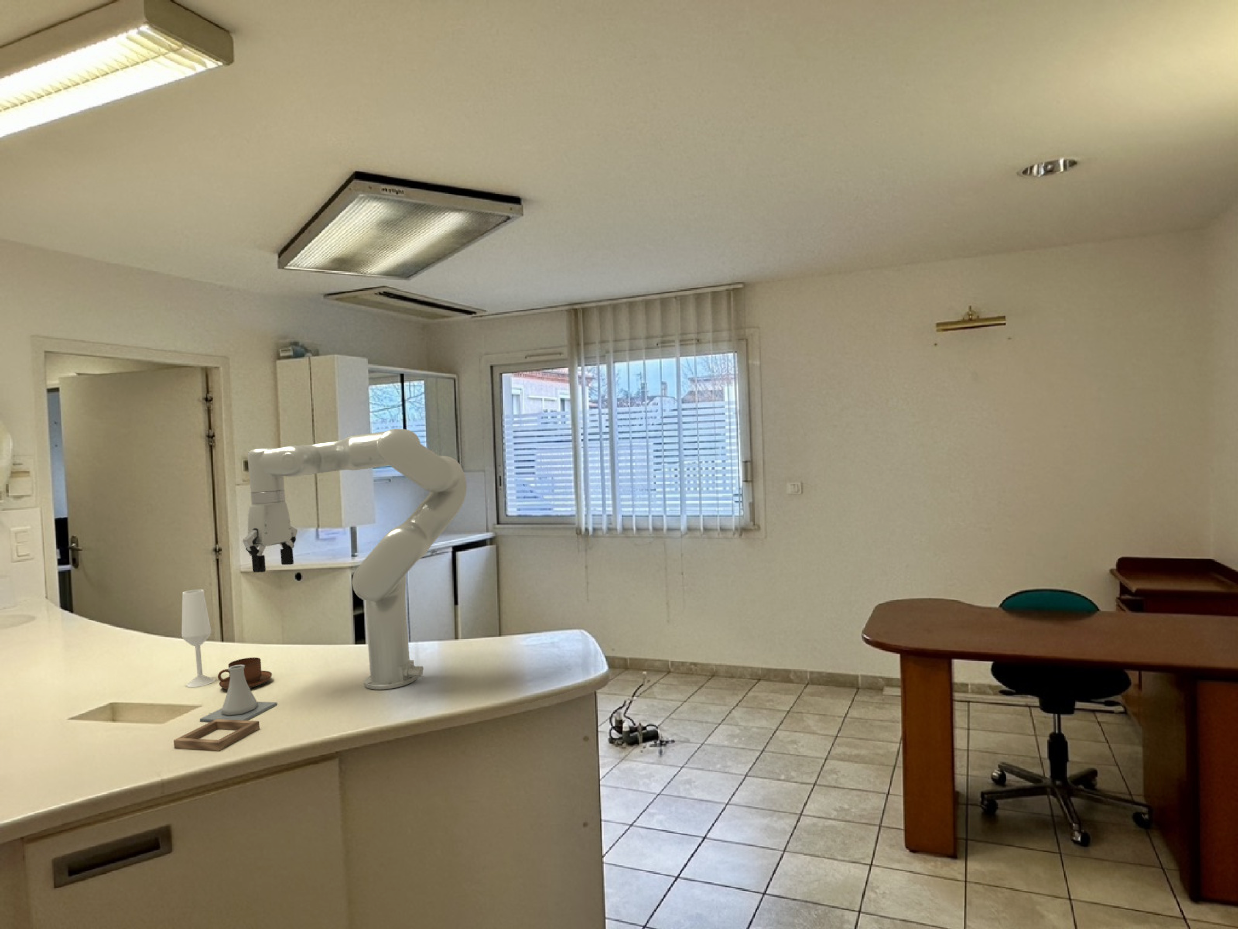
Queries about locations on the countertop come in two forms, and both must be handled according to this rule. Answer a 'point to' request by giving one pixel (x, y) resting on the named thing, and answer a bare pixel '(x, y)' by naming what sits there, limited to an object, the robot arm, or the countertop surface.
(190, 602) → the champagne flute
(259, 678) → the cup and saucer
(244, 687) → the flask
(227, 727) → the square wooden frame
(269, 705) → the slate tile
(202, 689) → the countertop surface
